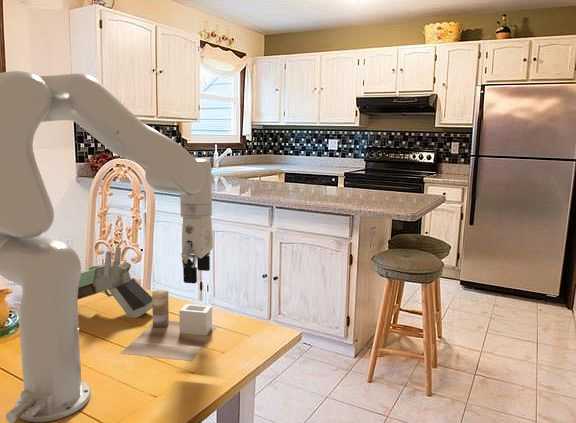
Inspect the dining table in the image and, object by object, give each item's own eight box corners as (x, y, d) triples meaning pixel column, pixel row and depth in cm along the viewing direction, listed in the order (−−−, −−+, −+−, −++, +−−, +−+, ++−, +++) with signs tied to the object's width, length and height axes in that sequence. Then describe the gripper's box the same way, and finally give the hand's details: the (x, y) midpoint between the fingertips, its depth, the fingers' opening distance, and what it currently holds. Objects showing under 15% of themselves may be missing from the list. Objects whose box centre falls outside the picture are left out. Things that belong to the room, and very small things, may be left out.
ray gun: (147, 316, 118) (119, 246, 116) (52, 345, 125) (24, 279, 124) (160, 306, 125) (134, 240, 123) (69, 334, 132) (43, 272, 131)
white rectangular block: (206, 335, 111) (206, 312, 110) (179, 332, 112) (179, 310, 111) (211, 327, 115) (212, 305, 114) (186, 325, 116) (186, 303, 115)
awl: (164, 329, 114) (164, 295, 112) (150, 327, 114) (149, 294, 113) (171, 322, 118) (170, 290, 116) (156, 321, 118) (156, 289, 117)
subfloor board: (191, 365, 99) (191, 360, 98) (120, 358, 101) (120, 353, 101) (217, 329, 117) (217, 325, 117) (156, 323, 120) (156, 319, 119)
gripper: (198, 217, 100) (199, 289, 103) (221, 204, 116) (221, 266, 120) (167, 215, 101) (169, 287, 104) (194, 203, 117) (195, 265, 121)
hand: (197, 276), depth 112 cm, fingers open, 9 cm apart
